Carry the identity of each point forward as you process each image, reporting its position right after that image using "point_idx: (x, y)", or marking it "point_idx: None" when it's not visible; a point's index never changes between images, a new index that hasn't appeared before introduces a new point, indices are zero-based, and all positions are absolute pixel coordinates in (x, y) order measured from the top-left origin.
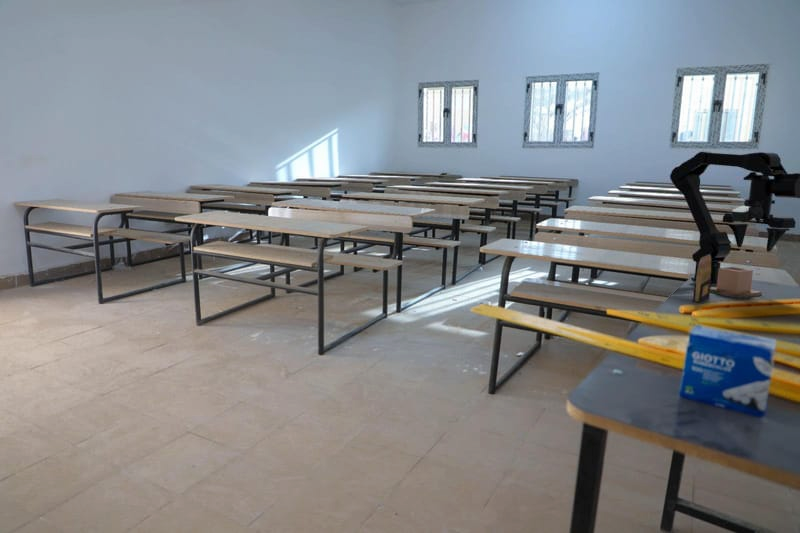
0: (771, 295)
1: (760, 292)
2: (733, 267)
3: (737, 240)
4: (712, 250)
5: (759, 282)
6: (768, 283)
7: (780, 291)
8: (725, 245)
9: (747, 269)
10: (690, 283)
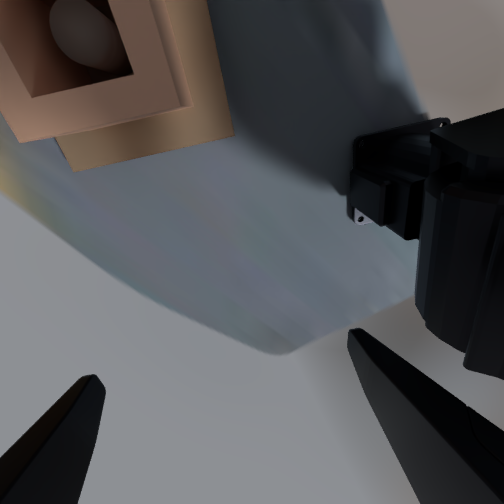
0: (91, 214)
1: (69, 162)
2: (152, 88)
3: (395, 371)
4: (487, 152)
5: (305, 329)
6: (286, 341)
7: (169, 295)
8: (470, 305)
9: (55, 129)
10: (385, 24)
